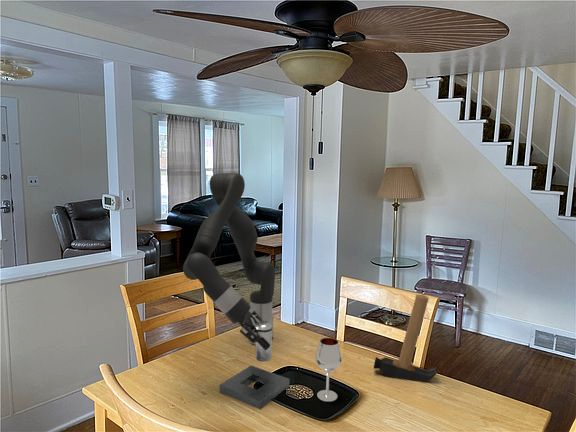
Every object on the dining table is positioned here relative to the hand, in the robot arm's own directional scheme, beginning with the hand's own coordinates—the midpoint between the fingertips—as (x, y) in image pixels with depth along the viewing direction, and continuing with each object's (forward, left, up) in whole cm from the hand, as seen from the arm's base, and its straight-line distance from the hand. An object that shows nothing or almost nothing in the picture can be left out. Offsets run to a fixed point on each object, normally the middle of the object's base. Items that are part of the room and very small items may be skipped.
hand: (269, 343), depth 129 cm
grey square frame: (0, -5, -17) cm, 17 cm away
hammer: (-37, +32, -17) cm, 52 cm away
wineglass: (-10, +16, -17) cm, 25 cm away
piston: (+1, -2, -5) cm, 5 cm away
